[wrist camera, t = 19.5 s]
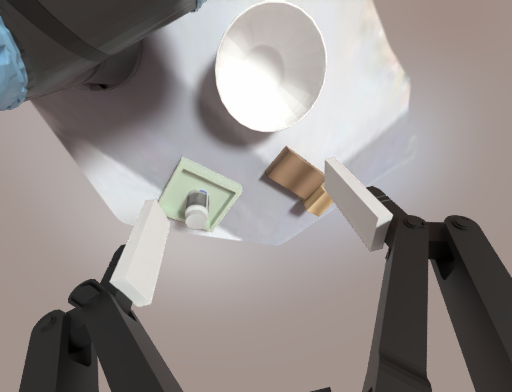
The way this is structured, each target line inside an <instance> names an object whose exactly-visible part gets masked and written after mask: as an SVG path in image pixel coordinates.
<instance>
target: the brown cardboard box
mask: <svg viewBox="0 0 512 392" xmlns="http://www.w3.org/2000/svg"><path fill="white" fill-rule="evenodd" d="M265 171H266V174H267V177H269V178H270V179H272V180H274V181H275V182H277V183H279V184H280V185H282V186H284V187H285V188H287V189H289V190H290V191H292V192H294V193H295V194H297V195H298V196H300V197H302V198H303V199H305V200H306V199H307V198H308V197H309V196H310V195H311V194H312V193H313V192H314V191H315V190H316V189H317V188H318V187H320V186H321V185H322V184H323V183H324V174H323V173H322V172H321V171H320V170H318V169H317V168H315V167H314V166H313V165H311V164H310V163H309V162H307V161H306V160H305V159H303V158H302V157H301V156H299V155H298V154H296V153H295V152H294V151H292V150H291V149H290V148H288V147H287V146H286V147H285V148H284V149H283V150H282V151H281V153H280V154H279V155H278V156H277V157H276V159H275V160H274V161H273V162H272V163H271V165H270V166H269V167H268V168H267V169H266V170H265Z"/></svg>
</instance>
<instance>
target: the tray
mask: <svg viewBox="0 0 512 392" xmlns="http://www.w3.org/2000/svg"><path fill="white" fill-rule="evenodd" d="M194 189H203V190H205V191H206V192H207V193H208V194H209V216H208V218H207V222H206V225H205V226H204V227H203V228H201V229H204V230H207V231H210V232H212V231H213V230H214V229H215V227H216V226H217V225H218V223H219V222H220V221H221V219H222V218H223V217H224V215H225V214H226V213H227V211H228V210H229V209H230V207H231V206H232V205H233V204H234V202H235V201H236V200H237V198H238V197H239V196H240V194H241V193H242V192H243V191H242V185H241V184H239V183H236V182H234V181H232V180H230V179H228V178H226V177H224V176H222V175H220V174H218V173H216V172H214V171H212V170H210V169H208V168H206V167H204V166H202V165H200V164H198V163H196V162H193V161H191V160H189V159H187V158H185V157H183V156H182V157H181V159H180V161H179V163H178V165H177V167H176V169H175V170H174V172H173V174H172V176H171V178H170V180H169V182H168V184H167V186H166V187H165V189H164V191H163V193H162V195H161V197H160V199H159V201H158V204H159V205H160V207H161V209H162V210H163V212H164V214H165V215H166V217H169V218H172V219H175V220H178V221H181V222H184V223H185V220H186V217H185V209H186V203H187V198H188V194H189V192H190V191H192V190H194Z"/></svg>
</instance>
